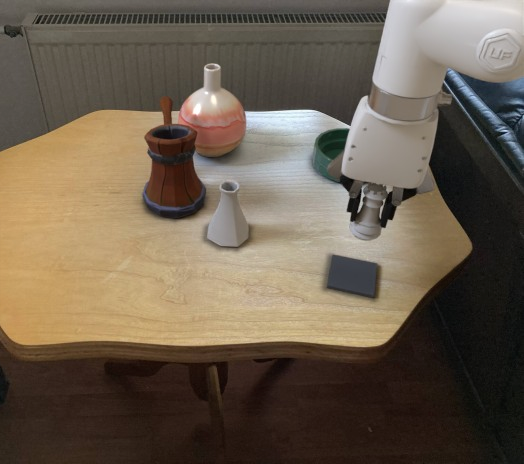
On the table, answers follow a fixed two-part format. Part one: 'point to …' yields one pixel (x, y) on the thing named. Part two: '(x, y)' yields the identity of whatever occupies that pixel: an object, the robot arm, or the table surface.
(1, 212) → the table surface
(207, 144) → the vase
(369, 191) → the rook chess piece
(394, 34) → the robot arm
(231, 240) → the flask
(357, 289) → the mat
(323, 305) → the table surface
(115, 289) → the table surface
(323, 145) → the bowl
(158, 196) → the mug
